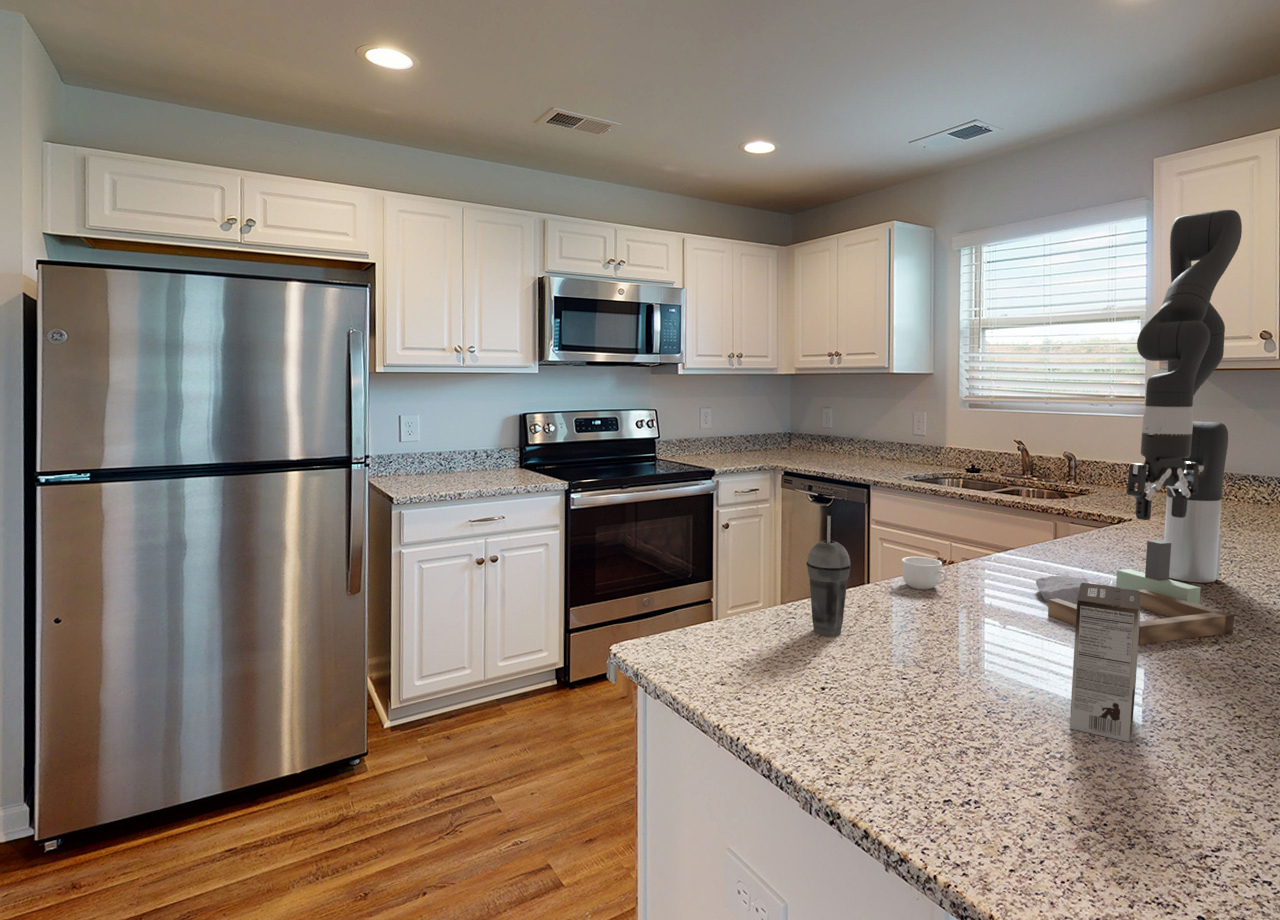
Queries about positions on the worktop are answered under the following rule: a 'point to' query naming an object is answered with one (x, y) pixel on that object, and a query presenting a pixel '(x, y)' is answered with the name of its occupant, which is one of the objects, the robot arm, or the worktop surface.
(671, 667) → the worktop surface
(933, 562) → the teacup
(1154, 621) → the wooden u-shaped frame
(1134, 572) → the board
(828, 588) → the beverage cup
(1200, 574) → the robot arm
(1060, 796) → the worktop surface
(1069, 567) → the worktop surface
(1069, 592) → the stone block
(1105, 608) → the coffee box
